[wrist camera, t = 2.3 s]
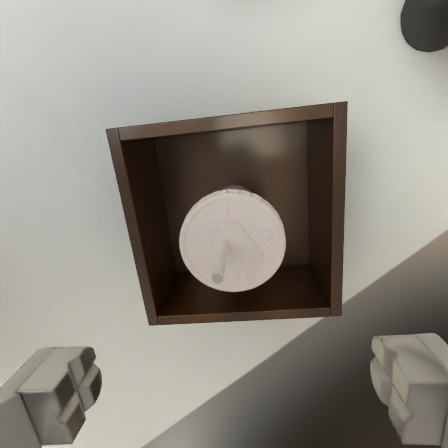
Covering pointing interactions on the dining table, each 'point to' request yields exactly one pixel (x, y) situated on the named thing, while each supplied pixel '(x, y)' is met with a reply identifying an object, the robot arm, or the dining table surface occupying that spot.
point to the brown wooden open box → (256, 183)
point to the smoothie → (232, 240)
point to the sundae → (425, 24)
